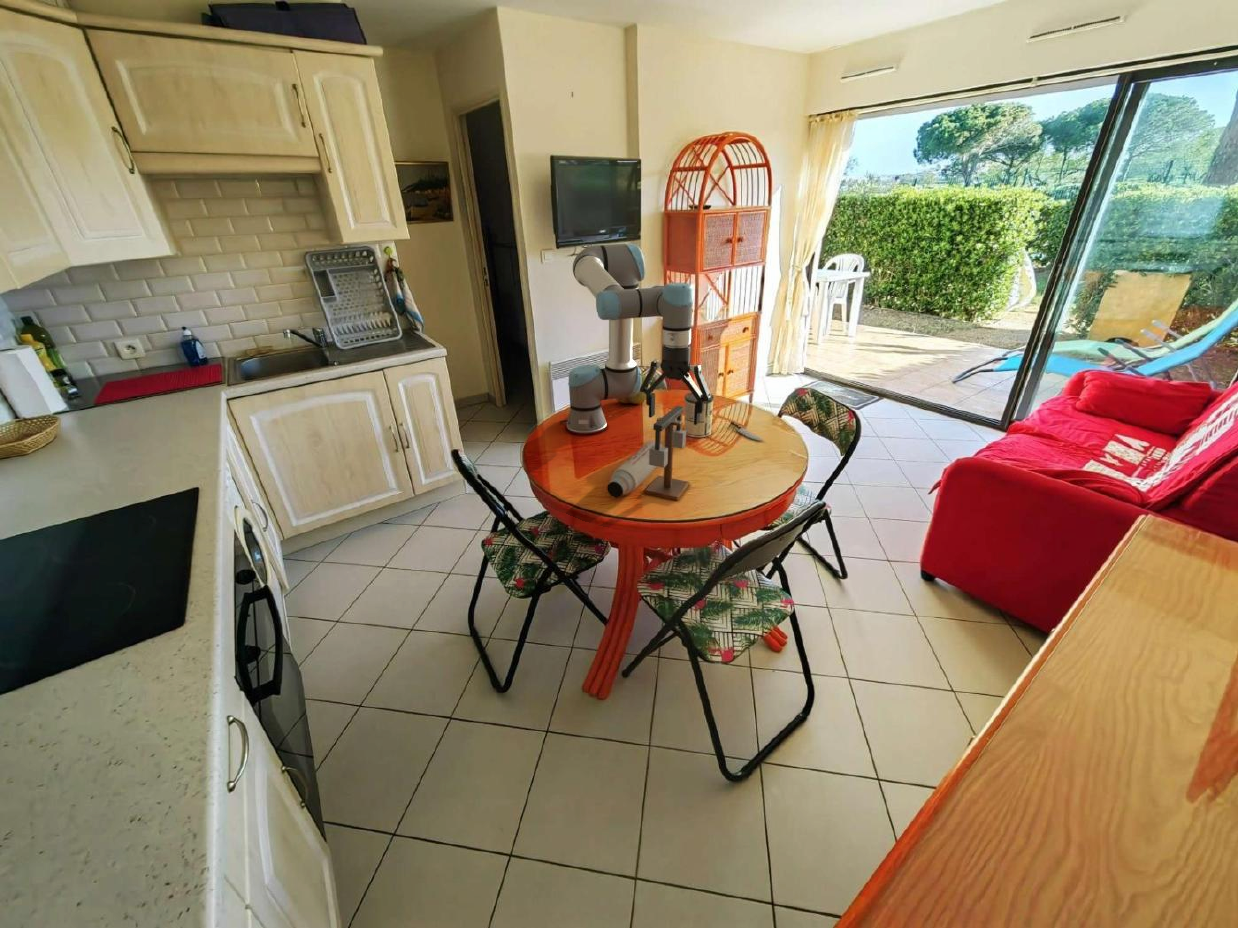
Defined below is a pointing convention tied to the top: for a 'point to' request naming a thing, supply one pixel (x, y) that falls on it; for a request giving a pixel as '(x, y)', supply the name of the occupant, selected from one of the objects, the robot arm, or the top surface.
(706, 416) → the coffee can
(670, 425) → the stand
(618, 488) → the thermos bottle
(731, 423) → the chef's knife
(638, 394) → the fruit
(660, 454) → the headphones
